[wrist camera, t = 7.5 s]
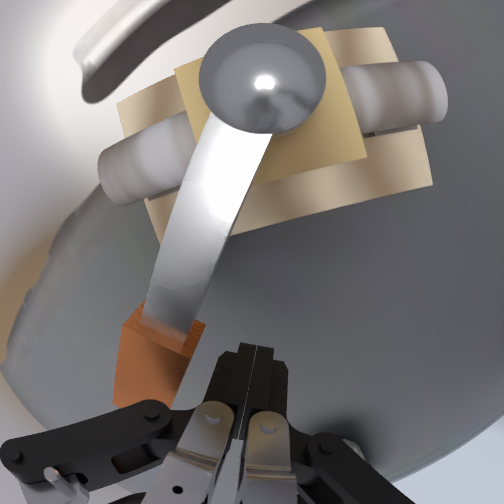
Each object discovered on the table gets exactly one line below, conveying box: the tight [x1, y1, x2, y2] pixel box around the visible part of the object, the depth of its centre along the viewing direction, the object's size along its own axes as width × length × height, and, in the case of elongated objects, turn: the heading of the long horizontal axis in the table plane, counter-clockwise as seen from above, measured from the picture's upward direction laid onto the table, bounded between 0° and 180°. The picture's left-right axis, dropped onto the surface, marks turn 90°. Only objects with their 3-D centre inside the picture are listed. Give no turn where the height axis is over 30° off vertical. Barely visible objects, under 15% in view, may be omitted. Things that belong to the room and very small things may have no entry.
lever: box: [113, 23, 326, 409], centre depth 8 cm, size 3×14×2 cm, turn 156°
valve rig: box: [98, 27, 448, 246], centre depth 12 cm, size 20×12×11 cm, turn 107°
